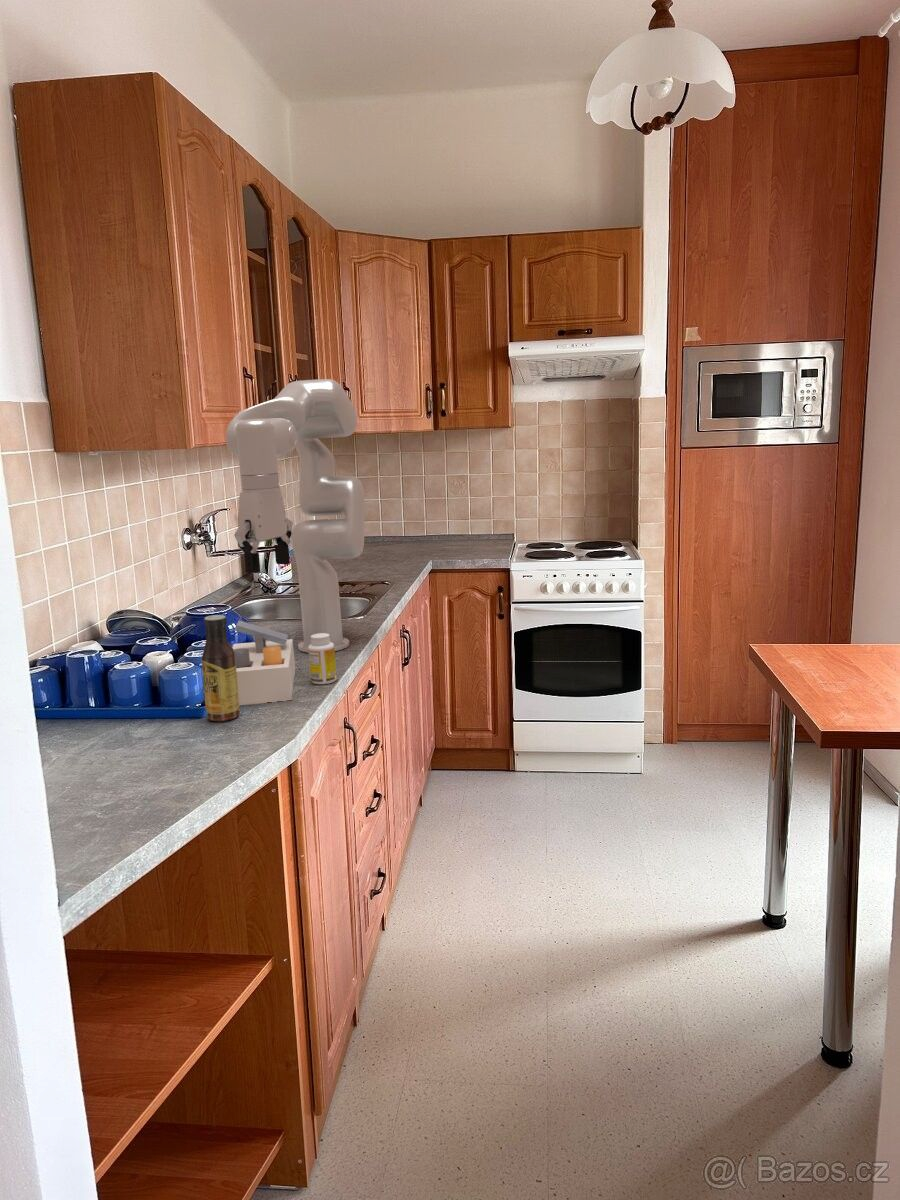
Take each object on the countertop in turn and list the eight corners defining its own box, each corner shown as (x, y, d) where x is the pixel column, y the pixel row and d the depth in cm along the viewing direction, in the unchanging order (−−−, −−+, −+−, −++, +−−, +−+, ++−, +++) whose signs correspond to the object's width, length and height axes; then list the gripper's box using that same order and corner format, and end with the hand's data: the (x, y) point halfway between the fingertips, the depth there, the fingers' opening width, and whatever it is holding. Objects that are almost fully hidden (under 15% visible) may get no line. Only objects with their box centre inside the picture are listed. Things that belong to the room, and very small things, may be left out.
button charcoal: (235, 684, 183) (231, 649, 181) (252, 682, 183) (249, 647, 182) (233, 689, 179) (229, 653, 178) (251, 687, 180) (247, 652, 178)
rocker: (235, 629, 193) (238, 620, 193) (284, 644, 196) (287, 634, 195) (233, 635, 188) (236, 625, 188) (283, 650, 190) (286, 640, 190)
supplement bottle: (337, 676, 193) (333, 631, 191) (336, 684, 188) (333, 637, 186) (311, 678, 193) (307, 633, 191) (310, 686, 187) (306, 639, 185)
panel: (236, 673, 200) (232, 628, 198) (295, 668, 201) (291, 624, 199) (225, 706, 176) (220, 655, 174) (291, 700, 178) (286, 650, 176)
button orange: (266, 681, 183) (263, 646, 182) (284, 680, 184) (281, 645, 182) (265, 686, 180) (262, 650, 178) (283, 684, 180) (280, 649, 179)
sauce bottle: (201, 718, 170) (190, 617, 166) (231, 710, 174) (220, 611, 170) (216, 725, 165) (205, 622, 161) (247, 717, 169) (236, 616, 165)
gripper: (271, 479, 185) (279, 560, 189) (216, 487, 170) (225, 575, 174) (301, 479, 182) (308, 561, 185) (247, 487, 167) (256, 576, 170)
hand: (268, 568), depth 180 cm, fingers open, 9 cm apart
